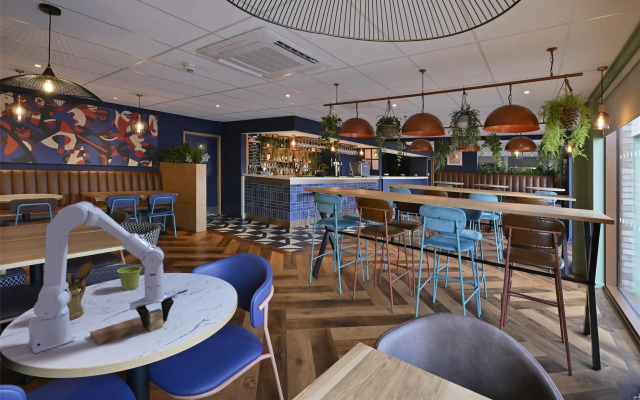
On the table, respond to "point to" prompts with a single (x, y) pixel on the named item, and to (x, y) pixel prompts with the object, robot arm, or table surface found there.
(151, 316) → the marking gauge
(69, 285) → the wooden mug
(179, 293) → the pencil
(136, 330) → the walnut board
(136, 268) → the plant pot
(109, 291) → the table surface
